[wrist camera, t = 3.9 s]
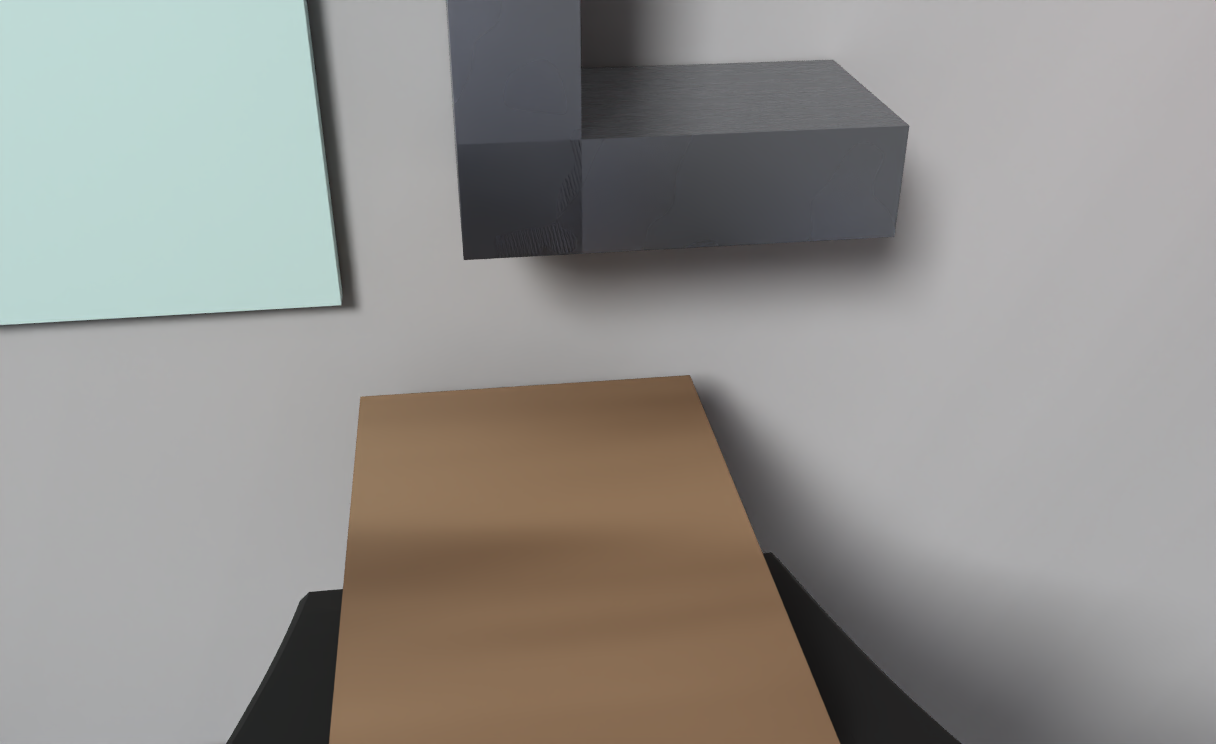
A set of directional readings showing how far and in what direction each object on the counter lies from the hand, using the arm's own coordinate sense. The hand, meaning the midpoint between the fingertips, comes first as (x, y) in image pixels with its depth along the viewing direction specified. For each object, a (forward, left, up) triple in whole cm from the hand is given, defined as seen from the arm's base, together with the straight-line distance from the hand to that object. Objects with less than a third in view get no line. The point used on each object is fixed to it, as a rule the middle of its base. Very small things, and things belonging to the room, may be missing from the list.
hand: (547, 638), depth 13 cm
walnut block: (0, 0, -2) cm, 2 cm away
